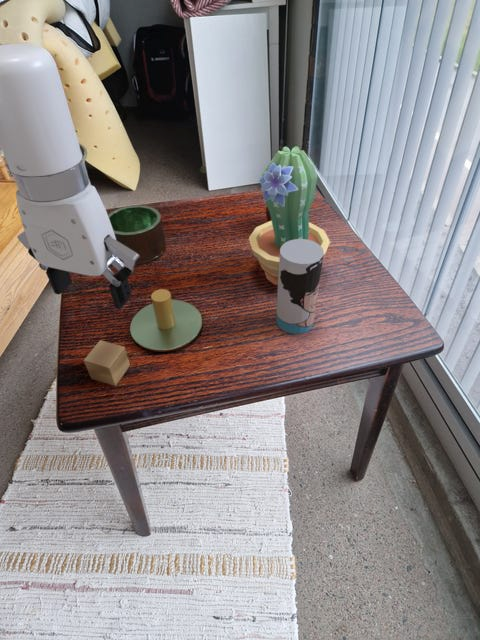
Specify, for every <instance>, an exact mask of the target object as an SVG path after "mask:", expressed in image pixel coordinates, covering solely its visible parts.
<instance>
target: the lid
mask: <svg viewBox="0 0 480 640" xmlns="http://www.w3.org/2000/svg"><path fill="white" fill-rule="evenodd" d="M150 298H151V301H152V302H151V303H150V304H148V305H145V306H144V307H143V308H141V309H140V310H139V311H138V312H137V313H136V314H135V315H134V316H133V317H132V320H131V322H130V325H129V332H130V335H131V338H132V340H133V341H134V342H135V343H136V345H138V346H139V347H140V348H143V349H145V350H147V351H152V352H157V353H164V352H172V351H176V350H179V349H182V348H184V347H186V346H188V345H189V344H191V343H192V342H194V341H195V339H197V337H198V336H199V335H200V333H201V332H202V328H203V318H202V315H201V313H200V311H199V310H198V309H197V308H196V307H195V306H194V305H193V304H191V303H189V302H186V301H184V300H179V299H172V294H171V291H169V290H168V289H165V288H160V289H156V290H154V291H153V292H152V293H151V295H150Z"/></svg>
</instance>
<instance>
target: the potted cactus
mask: <svg viewBox="0 0 480 640" xmlns="http://www.w3.org/2000/svg"><path fill="white" fill-rule="evenodd" d="M258 182H259V184H260V185H261V189H260V190H261V191H262V197H263V198H262V199H263V203H265V205H266V206H267V207H268V210H269V212H270V216H271V220H272V221H269V222H268V221H266V222H265V223H263V224H260V225H258V226H256V227H255V228H254V229H253V231H252V233H251V234H250V235H249V237H248V239H249V244H250V249H251V251H252V254H253V256H254V257H255V258H256V259H257V260H258V263H259V265H260V267H261V268H262V270H263V271H264V274H265V277H266V279H267V280H268V281H269V282H270V283H272V284H273V285H274V286H278V277H279V260H280V249H281V246H282V245H283V244H284V243H286V242H288V241H290V240H294V239H306V240H311V241H314V242H316V243H317V244H319V245H320V246H321V247H322V248H323V251H324V255H323V259H324V258H325V256H326V253H327V250H328V248H329V246H330V244H331V240H330V239H329V236H328V235H327V233H326V231H325V230H324V229H323V228H321V227H319V226H317V225H315V224H314V223H312V222H310V210H311V207H312V205H313V203H314V200H315V195H316V189H317V183H318V173H317V170H316V167H315V164H314V163H313V162H312V160H311V159H310V157H309V156H308V154H307V153H306V151H305V150H300V147H299V146H296V145H295V146H294V147H292V149H291V150H290V148H289V147H288V146H283V147H282V148H281V150H278V151H277V152H276V153H275V154H274V156H273V158H272V159H271V161H270V162H268V164H267V166H266V168H265V169H264V170H263V172H262V175H261V177H260V178H259V179H258Z"/></svg>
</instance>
